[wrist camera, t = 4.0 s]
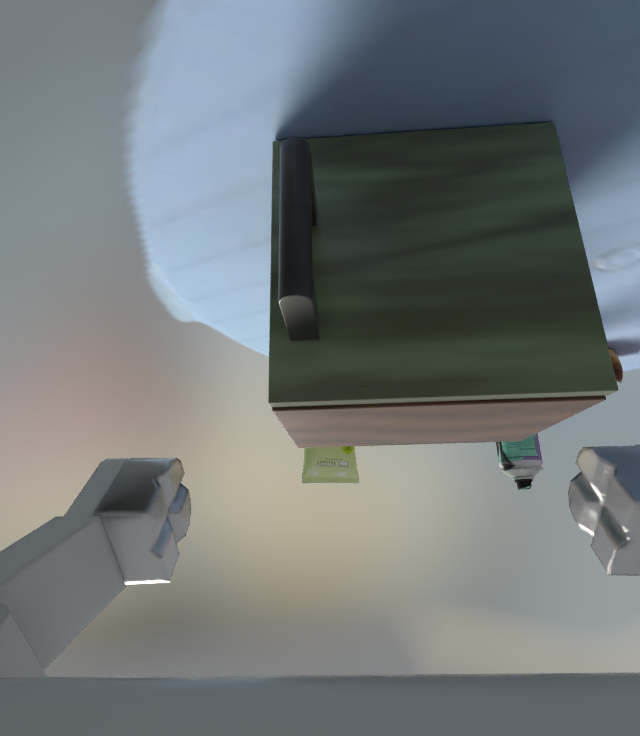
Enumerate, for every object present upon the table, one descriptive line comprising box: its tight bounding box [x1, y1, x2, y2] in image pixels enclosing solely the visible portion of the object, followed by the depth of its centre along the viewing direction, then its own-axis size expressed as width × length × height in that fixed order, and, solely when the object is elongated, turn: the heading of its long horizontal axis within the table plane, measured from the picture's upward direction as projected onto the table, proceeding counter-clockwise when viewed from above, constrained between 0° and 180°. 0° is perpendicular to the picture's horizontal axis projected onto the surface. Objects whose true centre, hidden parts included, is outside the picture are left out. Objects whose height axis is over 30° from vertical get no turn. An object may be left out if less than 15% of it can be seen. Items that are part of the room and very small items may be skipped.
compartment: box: [272, 395, 606, 448], centre depth 34 cm, size 13×18×18 cm
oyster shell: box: [609, 349, 623, 383], centre depth 69 cm, size 6×4×10 cm
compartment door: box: [268, 122, 618, 407], centre depth 25 cm, size 6×18×18 cm, turn 94°
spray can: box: [496, 433, 543, 490], centre depth 65 cm, size 6×6×20 cm
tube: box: [302, 446, 359, 483], centre depth 56 cm, size 6×5×20 cm
